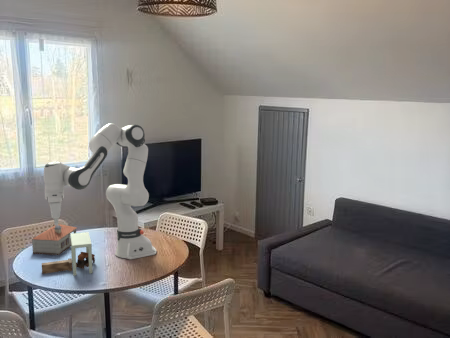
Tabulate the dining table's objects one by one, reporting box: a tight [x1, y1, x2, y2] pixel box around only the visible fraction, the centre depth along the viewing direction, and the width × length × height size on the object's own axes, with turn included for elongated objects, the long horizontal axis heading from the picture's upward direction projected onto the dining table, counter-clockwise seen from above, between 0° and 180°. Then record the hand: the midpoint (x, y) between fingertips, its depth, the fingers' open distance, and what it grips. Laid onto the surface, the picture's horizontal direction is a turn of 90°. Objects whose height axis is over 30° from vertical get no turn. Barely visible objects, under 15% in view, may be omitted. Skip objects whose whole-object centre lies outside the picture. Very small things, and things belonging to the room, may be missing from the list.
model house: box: [31, 223, 78, 256], centre depth 244 cm, size 24×16×15 cm, turn 174°
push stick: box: [41, 257, 73, 275], centre depth 212 cm, size 14×6×4 cm, turn 114°
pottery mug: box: [76, 251, 96, 270], centre depth 218 cm, size 12×9×8 cm
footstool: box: [70, 231, 94, 277], centre depth 216 cm, size 9×19×16 cm, turn 22°
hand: (56, 222), depth 210 cm, fingers open, 8 cm apart
